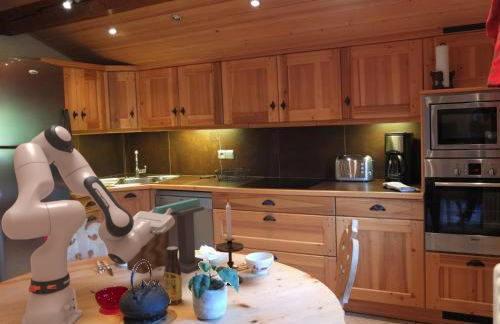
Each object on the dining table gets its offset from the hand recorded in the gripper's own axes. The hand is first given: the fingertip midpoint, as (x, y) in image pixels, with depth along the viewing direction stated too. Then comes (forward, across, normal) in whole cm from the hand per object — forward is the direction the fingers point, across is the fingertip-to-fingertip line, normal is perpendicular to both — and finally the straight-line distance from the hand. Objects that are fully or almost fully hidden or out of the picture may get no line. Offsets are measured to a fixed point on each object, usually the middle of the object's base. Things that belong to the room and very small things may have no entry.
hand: (165, 208), depth 191 cm
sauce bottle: (-31, -24, +15) cm, 42 cm away
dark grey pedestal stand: (-5, 0, +29) cm, 30 cm away
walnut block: (-12, +15, +25) cm, 32 cm away
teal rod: (+5, 0, +5) cm, 7 cm away
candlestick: (-8, -28, +28) cm, 41 cm away
